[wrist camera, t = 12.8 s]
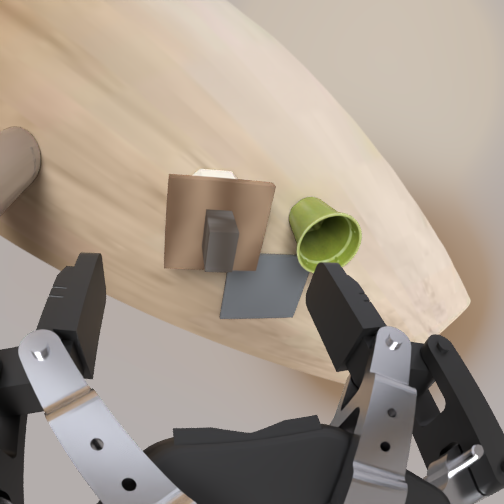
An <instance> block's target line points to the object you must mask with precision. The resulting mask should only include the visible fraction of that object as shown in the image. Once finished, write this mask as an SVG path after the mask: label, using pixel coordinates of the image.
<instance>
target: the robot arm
mask: <svg viewBox="0 0 504 504" xmlns="http://www.w3.org/2000/svg"><path fill="white" fill-rule="evenodd" d="M40 162H41V156H40V150H39V147H38V144H37V142H36V140H35V138H34V137H33V136H32V135H31V133H29V132H28V131H27V130H25V129H23V128H21V127H9V128H7V129H4V130H2V131H1V132H0V216H1V215H2V214H3V212H4V211H5V210H6V209H7V208H8V207H9V206H10V205H11V204H12V203H13V201H14V200H15V199H16V198H17V197H18V196H19V195H20V194H21V193H22V192H23V191H24V190H25V189H26V188H27V187H28V186H29V185H30V184H31V183H32V182H33V181H34V179H35V178H36V176H37V174H38V172H39V168H40ZM364 293H365V292H364V291H363V289H362V288H361V286H360V285H359V284H358V283H357V282H356V281H355V280H354V279H353V278H351V277H350V276H349V275H347V274H346V273H345V271H344V270H343V268H342V267H341V266H340V264H339V263H331V262H320V263H318V264H317V266H316V268H315V271H314V274H313V277H312V279H311V282H310V285H309V287H308V290H307V293H306V306H307V308H308V311H309V313H310V315H311V317H312V319H313V321H314V324H315V326H316V328H317V330H318V332H319V334H320V336H321V339H322V341H323V343H324V345H325V347H326V350H327V352H328V354H329V356H330V358H331V360H332V363H333V365H334V367H335V369H336V372H339V371H345V370H348V371H349V373H350V375H349V376H348V378H347V380H346V383H345V386H344V390H343V393H342V396H341V399H340V402H339V405H338V408H337V411H336V414H335V416H334V418H333V420H332V422H331V424H330V425H326V424H320V422H319V419H318V416H317V415H314V416H309V417H302V418H296V419H290V420H284V421H282V422H279V423H277V424H274V425H272V426H269V427H267V428H264V429H262V430H259V431H256V432H253V433H244V432H237V431H230V430H223V429H217V428H181V429H180V428H174V429H173V436H174V437H172V438H169V439H165V440H162V441H160V442H157V443H155V444H153V445H151V446H149V447H148V448H146V449H145V450H143V451H142V450H141V449H140V448H139V446H138V445H137V444H136V443H135V442H134V441H133V439H132V438H131V437H130V436H129V435H128V433H127V432H126V431H125V430H124V429H123V427H122V426H121V425H120V423H119V422H118V421H117V420H116V418H115V417H114V416H113V414H112V413H111V412H110V410H109V409H108V408H107V407H106V405H105V404H104V402H103V401H102V399H101V398H100V397H99V395H98V394H97V393H96V392H95V390H94V389H91V388H90V387H89V386H88V384H87V383H86V381H85V380H84V378H85V379H93V374H94V366H95V360H96V352H97V346H98V340H99V335H100V329H101V324H102V319H103V313H104V308H105V303H106V286H105V278H104V270H103V262H102V256H101V254H100V253H80V254H79V256H78V259H77V261H76V264H75V266H74V267H72V266H66V267H65V268H64V269H63V270H62V271H61V272H60V273H59V274H58V275H57V277H56V280H55V282H54V284H53V288H52V289H51V292H50V294H49V297H48V299H47V302H46V304H45V307H44V310H43V312H42V315H41V318H40V321H39V323H38V326H37V329H36V330H35V331H32V332H31V333H29V334H27V335H26V336H25V337H24V338H23V339H22V341H21V342H20V345H19V346H18V347H14V348H8V349H2V350H0V504H24V494H23V492H24V491H23V472H24V447H25V434H26V423H27V414H29V413H35V412H42V411H45V417H46V419H47V421H48V423H49V425H50V426H51V428H52V430H53V432H54V433H55V435H56V437H57V439H58V440H59V442H60V444H61V445H62V447H63V448H64V450H65V451H66V453H67V455H68V456H69V458H70V459H71V461H72V462H73V464H74V465H75V467H76V468H77V469H78V471H79V472H80V474H81V475H82V477H83V478H84V479H85V481H86V482H87V483H88V485H89V486H90V487H91V489H92V490H93V491H94V493H95V494H96V495H97V496H98V498H99V499H100V501H99V502H98V503H97V504H474V503H476V502H478V501H480V500H482V499H484V498H486V497H488V496H490V495H492V494H494V493H496V492H497V491H499V490H501V489H503V488H504V434H503V431H502V429H501V428H500V426H499V424H498V422H497V420H496V418H495V416H494V414H493V412H492V410H491V408H490V407H489V405H488V403H487V401H486V399H485V397H484V396H483V394H482V392H481V391H480V389H479V387H478V385H477V384H476V382H475V380H474V379H473V377H472V375H471V373H470V372H469V370H468V368H467V367H466V365H465V364H464V362H463V360H462V359H461V357H460V356H459V354H458V352H457V351H456V349H455V348H454V346H453V345H452V343H451V342H450V341H449V340H448V339H446V338H445V337H443V336H441V335H436V334H435V335H431V336H430V337H429V338H428V339H427V341H426V342H425V343H424V344H422V343H415V342H410V340H409V338H408V337H407V336H406V335H405V334H404V333H403V332H402V331H401V330H399V329H397V328H394V327H390V326H386V324H385V323H384V321H383V320H382V318H381V317H380V315H379V313H378V312H377V310H376V309H375V307H374V306H373V304H372V303H371V302H369V298H368V297H367V295H366V294H364ZM435 381H436V383H437V385H438V387H439V389H440V391H441V392H442V394H443V396H444V398H445V402H446V405H445V409H444V411H443V412H442V413H440V411H439V409H438V407H437V405H436V403H435V401H434V399H433V397H432V395H431V394H430V392H429V390H428V388H429V387H430V386H431V385H432V384H433V383H434V382H435ZM412 434H413V436H414V439H415V441H416V443H417V446H418V448H419V451H420V453H421V455H422V458H423V460H424V463H425V465H426V468H427V476H425V477H424V478H423V479H422V478H420V477H418V476H416V475H415V474H413V473H412V472H410V471H408V470H407V469H406V467H407V461H408V456H409V450H410V444H411V438H412Z"/></svg>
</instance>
